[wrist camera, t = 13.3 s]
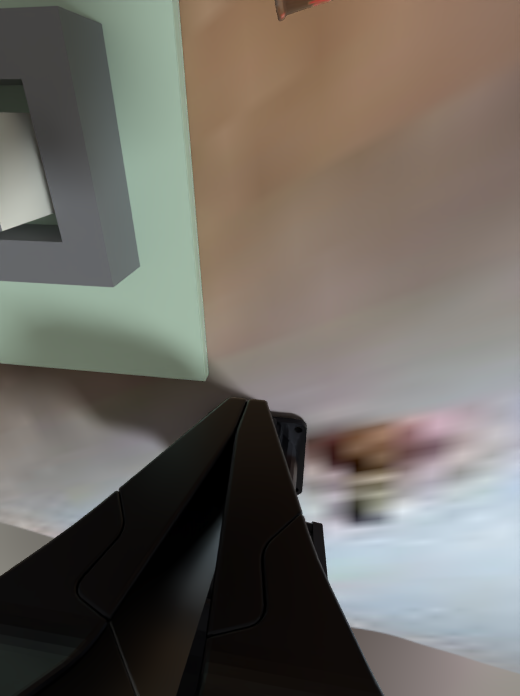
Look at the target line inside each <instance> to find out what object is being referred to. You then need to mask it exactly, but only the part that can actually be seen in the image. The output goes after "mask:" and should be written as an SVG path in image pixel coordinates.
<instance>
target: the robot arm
mask: <svg viewBox="0 0 520 696" xmlns="http://www.w3.org/2000/svg"><path fill="white" fill-rule="evenodd" d="M296 427H301V429H298V428H296ZM306 431H307V424H306V423H305V422H304V421H303V420H299V419H289V418H278V417H272V416H271V413H270V410H269V407H268V403H267V402H266V401H265V400H256V399H250V400H248V401H247V399H245V398H235V397H230V398H228V399H227V400H225V401H224V402H223V403H222V404H220V405H219V406H218V407H217V408H216V409H214V410H213V411H211V412H209V414H208V415H207V416H206V417H205V418H204V419H202V420H201V421H200V422H199V423H198V424H196V425H195V426H194V427H193V428H191V429H190V430H189V431H188V432H187V433H185V434H184V435H183V436H182V437H181V438H179V439H178V440H177V441H176V442H175V443H173V444H172V445H171V446H170V447H168V448H167V449H166V450H165V451H164V452H162V453H161V454H160V455H159V456H158V457H156V458H155V459H154V460H153V461H152V462H150V463H149V464H148V465H147V466H146V467H144V468H143V469H142V470H141V471H139V472H138V473H137V474H136V475H135V476H133V477H132V478H131V479H130V480H129V481H127V482H126V483H125V484H124V485H123V486H121V487H120V488H119V492H118V491H115V492H114V493H113V494H111V495H110V496H109V497H108V498H107V499H105V500H104V501H103V502H102V503H100V504H99V505H98V506H97V507H95V508H94V509H93V510H92V511H90V512H89V513H88V514H87V515H85V516H84V517H83V518H81V519H80V520H79V521H78V522H76V523H75V524H74V525H72V526H71V527H69V528H68V529H67V530H65V531H64V532H63V533H61V534H60V535H58V536H57V537H56V538H54V539H53V540H52V541H50V542H49V543H47V544H46V545H44V546H43V547H42V548H40V549H39V550H37V551H36V552H34V553H33V554H32V555H30V556H29V557H27V558H26V559H24V560H23V561H21V562H20V563H18V564H17V565H16V566H14V567H13V568H11V569H10V570H9V571H7V572H5V573H4V574H3V575H1V576H0V696H384V694H383V692H382V690H381V689H380V687H379V685H378V683H377V681H376V679H375V677H374V675H373V673H372V671H371V669H370V668H369V665H368V663H367V661H366V659H365V657H364V655H363V653H362V651H361V649H360V647H359V645H358V642H357V640H356V638H355V636H354V634H353V632H352V630H351V628H350V626H349V624H348V622H347V619H346V617H345V615H344V613H343V611H342V609H341V607H340V605H339V603H338V601H337V599H336V597H335V594H334V592H333V590H332V588H331V586H330V584H329V581H328V578H327V567H326V557H325V546H324V536H323V525H322V524H321V523H317V522H312V523H308V522H306V521H305V518H304V516H303V515H302V514H303V513H302V510H301V507H300V503H299V500H298V497H297V495H298V494H300V493H301V492H302V486H303V472H304V459H305V445H306Z"/></svg>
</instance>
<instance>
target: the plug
mask: <svg viewBox="0 0 520 696" xmlns="http://www.w3.org/2000/svg"><path fill="white" fill-rule="evenodd" d="M53 213H55V211H54V207H53V203H52V199H51V195H50V191H49V187H48V183H47V179H46V175H45V171H44V167H43V163H42V159H41V155H40V151H39V147H38V143H37V139H36V135H35V131H34V127H33V123H32V119H31V115H30V113H7V112H0V232H1V231H4V230H7V229H10V228H13V227H16V226H18V225H21V224H24V223H27V222H30V221H33V220H36V219H39V218H41V217H44V216H47V215H50V214H53Z"/></svg>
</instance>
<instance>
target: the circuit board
mask: <svg viewBox="0 0 520 696" xmlns="http://www.w3.org/2000/svg"><path fill="white" fill-rule="evenodd" d="M42 6H59V7H62V8H64V9H67V10H69V11H72V12H74V13H77V14H79V15H81V16H84V17H86V18H89V19H91V20H94V21H96V22H99V23H101V24H102V29H103V35H104V41H105V47H106V54H107V60H108V66H109V73H110V79H111V85H112V92H113V98H114V104H115V111H116V117H117V123H118V130H119V136H120V142H121V148H122V155H123V161H124V167H125V174H126V180H127V186H128V193H129V199H130V205H131V212H132V218H133V224H134V231H135V237H136V243H137V249H138V256H139V262H140V267H139V268H138V269H136V270H135V271H134V272H133V273H131V274H130V275H129V276H127V277H126V278H125V279H124V280H122V281H121V282H120V283H119V284H117V285H116V286H115V287H97V286H80V285H62V284H45V283H27V282H10V281H0V363H3V364H14V365H26V366H37V367H48V368H60V369H71V370H83V371H94V372H105V373H117V374H128V375H140V376H151V377H162V378H174V379H185V380H196V381H206V379H207V377H208V374H209V371H208V359H207V346H206V334H205V322H204V309H203V297H202V284H201V272H200V260H199V247H198V235H197V222H196V210H195V198H194V185H193V173H192V160H191V148H190V136H189V123H188V111H187V98H186V86H185V73H184V61H183V49H182V36H181V24H180V11H179V0H0V8H19V7H42ZM0 112H7V113H30V111H29V107H28V103H27V99H26V95H25V91H24V87H23V85H0ZM24 224H44V225H58V222H57V218H56V215H55V213H53V214H50V215H47V216H44V217H41V218H39V219H36V220H33V221H30V222H27V223H24Z"/></svg>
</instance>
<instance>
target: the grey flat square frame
mask: <svg viewBox="0 0 520 696" xmlns="http://www.w3.org/2000/svg"><path fill="white" fill-rule="evenodd" d="M0 85H23V87H24V91H25V95H26V99H27V103H28V107H29V111H30V115H31V119H32V123H33V127H34V131H35V135H36V139H37V143H38V147H39V151H40V155H41V159H42V163H43V167H44V171H45V175H46V179H47V183H48V187H49V191H50V195H51V199H52V203H53V207H54V211H55V215H56V218H57V222H58V225H44V224H21V225H18V226H16V227H13V228H10V229H7V230H4V231H1V232H0V281H10V282H27V283H45V284H62V285H80V286H97V287H115V286H116V285H117V284H119V283H120V282H121V281H122V280H124V279H125V278H126V277H127V276H129V275H130V274H131V273H133V272H134V271H135V270H136V269H138V268H139V267H140V262H139V256H138V249H137V243H136V237H135V231H134V224H133V218H132V212H131V205H130V199H129V193H128V186H127V180H126V174H125V167H124V161H123V155H122V148H121V142H120V136H119V130H118V123H117V117H116V111H115V104H114V98H113V92H112V85H111V79H110V73H109V66H108V60H107V54H106V47H105V41H104V35H103V29H102V24H101V23H99V22H96V21H94V20H91V19H89V18H86V17H84V16H81V15H79V14H77V13H74V12H72V11H69V10H67V9H64V8H62V7H59V6H42V7H19V8H0Z"/></svg>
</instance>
